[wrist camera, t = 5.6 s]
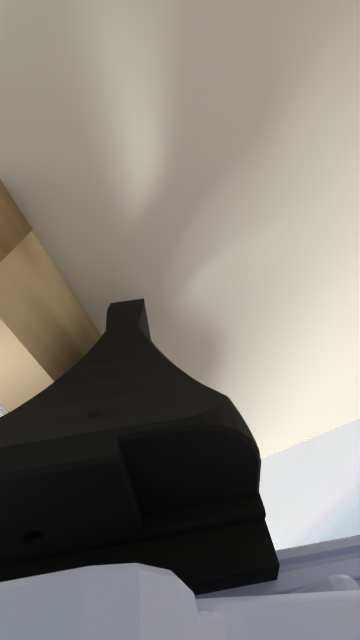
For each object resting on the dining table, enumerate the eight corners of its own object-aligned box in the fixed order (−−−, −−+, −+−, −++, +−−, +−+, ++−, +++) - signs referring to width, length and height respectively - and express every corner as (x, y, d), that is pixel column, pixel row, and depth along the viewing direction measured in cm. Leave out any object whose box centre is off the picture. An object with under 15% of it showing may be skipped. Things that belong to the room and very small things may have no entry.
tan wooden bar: (155, 416, 14) (163, 518, 11) (123, 428, 14) (119, 532, 11) (-3, 175, 9) (-107, 212, 5) (-54, 198, 9) (-192, 252, 5)
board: (146, 493, 20) (146, 507, 19) (-287, 120, 8) (-324, 119, 8) (437, 370, 17) (449, 380, 16) (392, -435, 6) (428, -514, 5)
